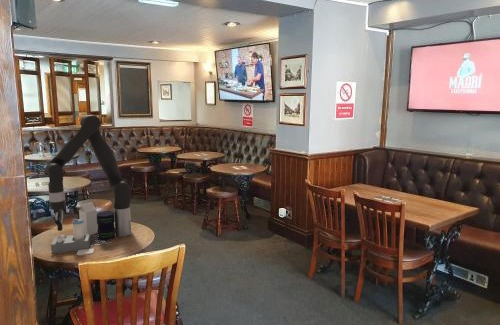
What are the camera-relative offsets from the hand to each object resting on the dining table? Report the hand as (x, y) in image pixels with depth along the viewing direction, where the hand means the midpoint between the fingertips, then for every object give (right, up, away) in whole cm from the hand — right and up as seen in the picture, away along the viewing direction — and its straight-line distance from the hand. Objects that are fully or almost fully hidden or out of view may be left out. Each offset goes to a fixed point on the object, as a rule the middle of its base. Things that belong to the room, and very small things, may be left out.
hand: (60, 230), depth 197 cm
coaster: (+16, -11, -4) cm, 20 cm away
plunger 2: (+1, -8, -2) cm, 9 cm away
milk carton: (+5, -7, +25) cm, 26 cm away
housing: (+5, -10, +3) cm, 12 cm away
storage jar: (+18, -8, +18) cm, 27 cm away
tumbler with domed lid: (+9, -10, +4) cm, 14 cm away
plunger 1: (-1, -9, +5) cm, 11 cm away
